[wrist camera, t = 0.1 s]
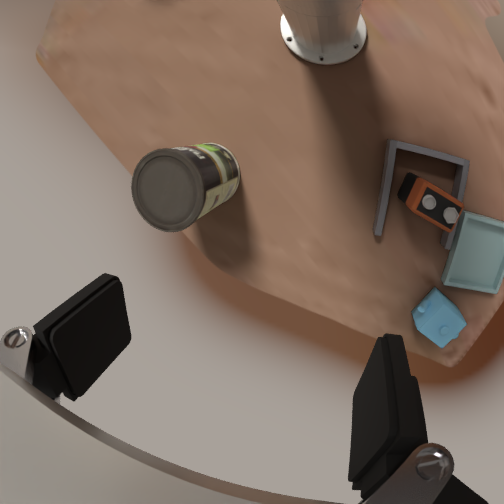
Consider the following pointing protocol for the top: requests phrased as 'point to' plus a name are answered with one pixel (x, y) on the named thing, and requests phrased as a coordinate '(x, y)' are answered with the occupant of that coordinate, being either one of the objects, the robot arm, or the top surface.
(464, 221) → the tray
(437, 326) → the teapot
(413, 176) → the battery
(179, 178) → the coffee can
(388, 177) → the frame
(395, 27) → the top surface
